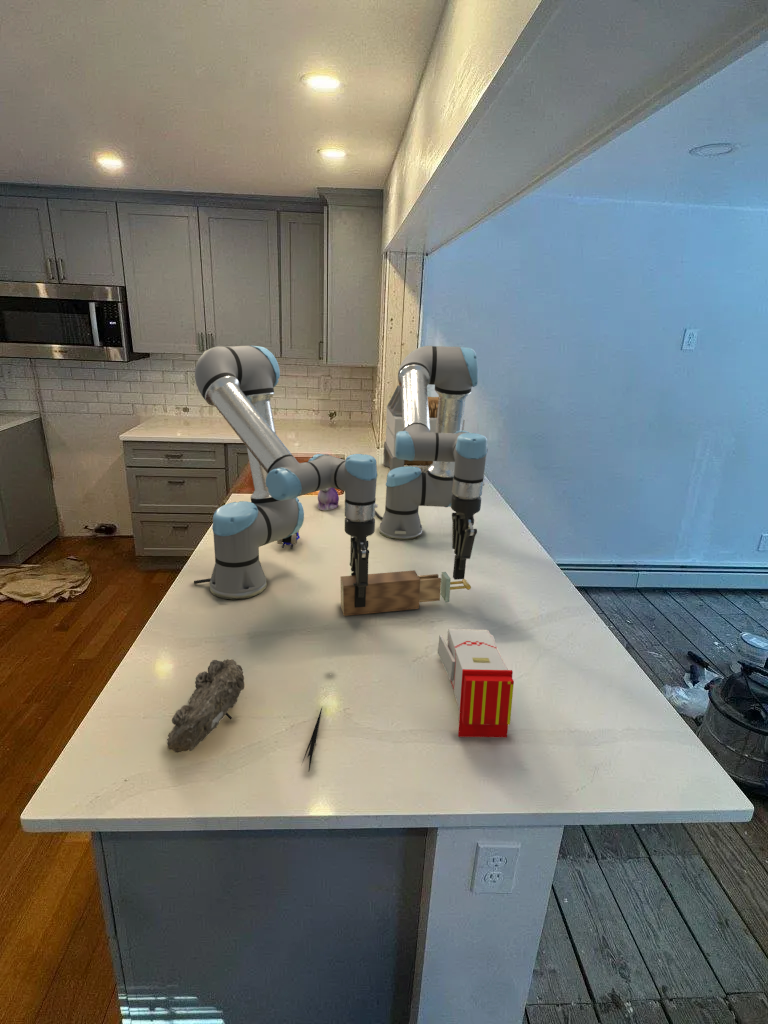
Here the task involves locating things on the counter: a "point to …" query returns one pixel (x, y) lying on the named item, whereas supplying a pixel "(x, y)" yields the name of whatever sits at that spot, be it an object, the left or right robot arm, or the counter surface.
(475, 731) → the toy
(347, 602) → the cabinet
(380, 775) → the counter surface
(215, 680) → the fossil
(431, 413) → the transformer
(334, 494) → the figurine
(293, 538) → the figurine character
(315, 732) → the feather
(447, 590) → the drawer
